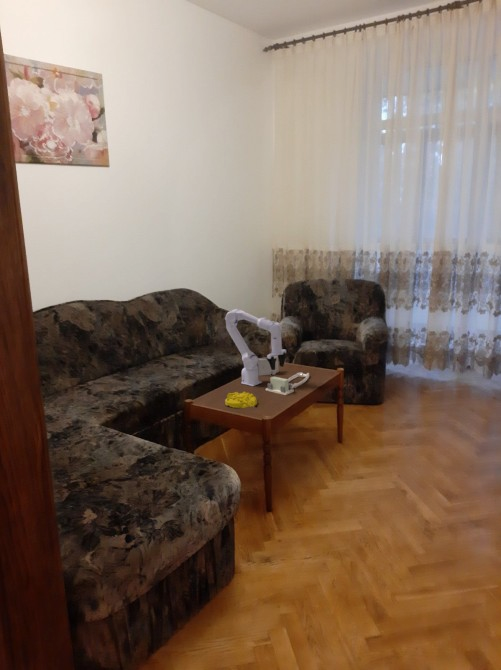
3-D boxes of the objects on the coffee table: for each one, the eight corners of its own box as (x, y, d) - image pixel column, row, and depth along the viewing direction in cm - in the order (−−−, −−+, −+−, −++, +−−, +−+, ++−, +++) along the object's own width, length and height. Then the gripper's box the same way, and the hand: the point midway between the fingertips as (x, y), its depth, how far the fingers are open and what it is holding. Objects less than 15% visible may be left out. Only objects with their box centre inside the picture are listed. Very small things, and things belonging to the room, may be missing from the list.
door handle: (313, 376, 294) (296, 389, 272) (297, 375, 298) (280, 388, 277) (313, 372, 293) (296, 385, 272) (297, 370, 298) (279, 383, 276)
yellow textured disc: (223, 409, 250) (223, 401, 249) (227, 397, 266) (226, 390, 265) (256, 408, 249) (256, 400, 248) (258, 397, 265) (257, 389, 264)
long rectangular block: (270, 388, 273) (270, 377, 272) (274, 386, 275) (273, 376, 274) (285, 391, 266) (284, 380, 265) (288, 390, 269) (288, 379, 267)
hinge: (278, 371, 306) (277, 355, 304) (280, 374, 301) (280, 358, 299) (256, 374, 303) (255, 358, 300) (258, 376, 298) (258, 360, 295)
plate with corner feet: (265, 390, 273) (265, 383, 272) (273, 386, 278) (273, 380, 277) (285, 395, 264) (285, 388, 263) (293, 391, 269) (293, 384, 268)
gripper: (273, 348, 268) (274, 372, 271) (290, 342, 278) (290, 365, 281) (263, 346, 273) (264, 370, 276) (280, 341, 283) (281, 364, 286)
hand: (277, 368), depth 279 cm, fingers open, 7 cm apart
